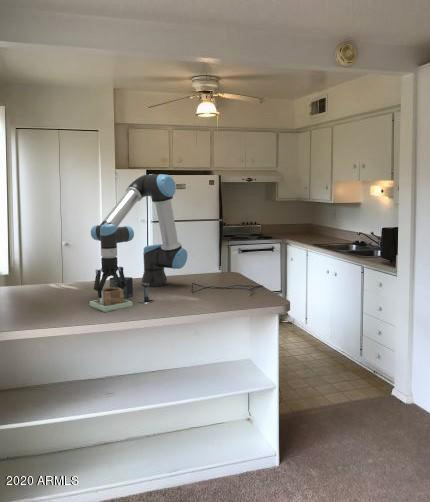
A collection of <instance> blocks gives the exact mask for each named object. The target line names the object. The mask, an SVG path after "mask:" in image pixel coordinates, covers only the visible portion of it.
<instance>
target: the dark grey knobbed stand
mask: <svg viewBox="0 0 430 502" xmlns="http://www.w3.org/2000/svg"><path fill="white" fill-rule="evenodd" d="M149 285H150V283H142V285H141V286H143V299H142V300H138V303H139V304H142V305H144V304H146V305H147V304H153V303H155V300H154V299H150V295H149Z"/></svg>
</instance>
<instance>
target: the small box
mask: <svg viewBox="0 0 430 502" xmlns="http://www.w3.org/2000/svg"><path fill="white" fill-rule="evenodd" d="M118 277H119V279H120V276H118ZM124 277H125V276H124ZM120 281H121V280H120ZM125 281H126V286H124V288H123V294H124V299H129V298H131V297H133V296H134V289H133V277H131V276H130V277H129V276H126V277H125ZM112 287H115V288H119V286H118V285H117V283H116V281H115V279H114V277H113V276H111V277H110V278H109V288H112Z"/></svg>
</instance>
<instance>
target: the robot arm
mask: <svg viewBox="0 0 430 502" xmlns="http://www.w3.org/2000/svg"><path fill="white" fill-rule="evenodd" d="M176 189H177V185H176V182H175V180H174V178H173V177H172V176H170V175H169V174H163V173H162V174H161V173H159V174H143V175H141V176H139V177H137V178H135V180H134V181H132V182H131V183H130V184H129V185H128V186H127V188H126V189H125V193H124V194H123V196H122V197H121V198H120V199H119V201H118V202H117V203H116V204H115V206H114V207H113V208H112V209H111V211H109V213H108V214H107V216H106V217H104V219H103V220H102V222H101V223H100V224H99V225H98V224H97V225H93V226H92V228H91V229H90V236H91V238H92V240H95V241H98V242H99V241H100V256H101V258H100V261H101V262H100V263H101V268H100V269H95V278H94V283H93V284H94V285H93V290H94V291H96V292H97V299H98V298H100V304H101V305H104V295H103V291H102V289H104V286H105V284H106V281H107V279H108V277H114V279H115V281H116V283H117V285H118V286H119V288H118V289H122V290H123V288H124V286H126V281H125V273H124V267H123V266H118V257H117V256H118V245H117V244H119V243H127V242H130V241H132V240H133V239H134V236H135V232H134V230H133V228H132V227H131V226H127V225H126V226H119V225H120V224H121V223H122V222H123V221H124V219H125V218H126V217H127V215H128V214H129V213H130V211H131V210H133V208H134V206H135V205H136V204H137V203H138V202H140V201H141V200H142V199H143V198H144V197H150V199H151V203H152V202H153V203H154V204H155V208H156V209H155V210H156V214H157V215H156V216H157V221H158V224H159V231H160V235H161V241H162V243H159V244H151V245H146V246H144V247H143V252H142V254H143V274H142V278H141V281H140V283H141V286H143V285H142V283H150V285H149V286H148V287H151V288H152V287H153V288H156V287H163V286H164V287H165V286H167V285H168V278H167V275H166V271H165V268H166V269H174V270H176V269H177V270H181V269H182V268H184V267H185V265H186V263H187V261H188V251H187V250H186V249H185V248H184V247H183V246H182V243H181V242H180V241H179V240H178V239H179V238H178V234H177V229H176V227H177V226H176V223H175V217H174V211H173V206H172V200H173V198H174V195H175V194H176ZM117 271H118V273H117ZM119 277H120V279H119ZM120 280H121V281H120Z"/></svg>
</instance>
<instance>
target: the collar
mask: <svg viewBox="0 0 430 502" xmlns="http://www.w3.org/2000/svg"><path fill="white" fill-rule="evenodd" d="M102 291H103V295H104V304H105V305H111V304H117V303H122V302H124V299H125V298H124V294H123V290H122V289H118V288H115V287H112V288H110V287H106V288H103V289H102ZM97 300H98V302H100V298H98V297H97Z"/></svg>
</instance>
